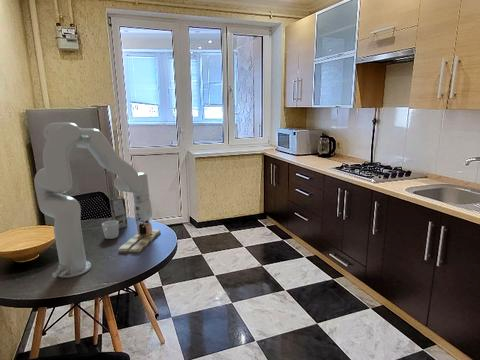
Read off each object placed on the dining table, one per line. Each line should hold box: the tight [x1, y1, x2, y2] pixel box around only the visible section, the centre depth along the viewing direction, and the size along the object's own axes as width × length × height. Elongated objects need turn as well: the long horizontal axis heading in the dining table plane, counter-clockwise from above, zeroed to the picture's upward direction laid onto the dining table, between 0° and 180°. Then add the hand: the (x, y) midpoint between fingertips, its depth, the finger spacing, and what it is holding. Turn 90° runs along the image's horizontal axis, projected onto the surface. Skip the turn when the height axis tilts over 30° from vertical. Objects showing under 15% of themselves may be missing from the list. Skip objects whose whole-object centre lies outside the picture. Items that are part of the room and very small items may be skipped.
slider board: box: [117, 228, 161, 255], centre depth 154 cm, size 24×10×2 cm, turn 171°
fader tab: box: [136, 222, 153, 236], centre depth 158 cm, size 4×6×6 cm, turn 81°
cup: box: [101, 220, 120, 240], centre depth 159 cm, size 11×8×8 cm
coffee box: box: [109, 195, 128, 229], centre depth 176 cm, size 9×6×16 cm
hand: (144, 232), depth 158 cm, fingers closed on fader tab, 3 cm apart
